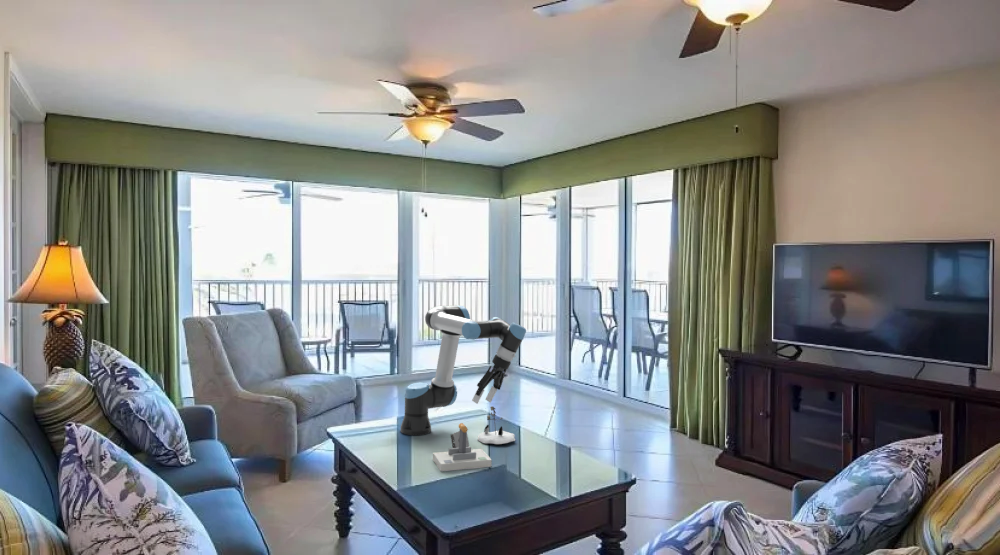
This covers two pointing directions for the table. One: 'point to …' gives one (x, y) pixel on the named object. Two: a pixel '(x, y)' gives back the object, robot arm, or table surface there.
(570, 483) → the table surface
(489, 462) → the switch block
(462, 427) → the handle
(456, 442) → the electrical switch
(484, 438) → the figurine
